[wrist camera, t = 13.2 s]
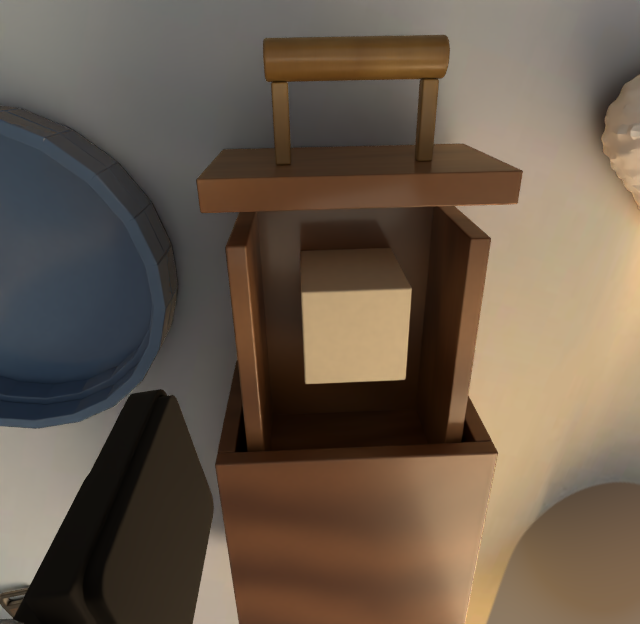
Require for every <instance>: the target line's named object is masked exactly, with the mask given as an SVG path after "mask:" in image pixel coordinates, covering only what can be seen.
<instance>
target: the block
mask: <svg viewBox="0 0 640 624" xmlns="http://www.w3.org/2000/svg"><path fill="white" fill-rule="evenodd" d="M300 271H301V306H302V330H303V353H304V377H305V384H319V383H343V382H366V381H390V380H405V378H406V365H407V351H408V336H409V322H410V307H411V293H412V288H411V286H410V284H409V283H408V281H407V279H406V277H405V275H404V273H403V271H402V269H401V267H400V265H399V263H398V261H397V259H396V258H395V256H394V254H393V252H392V250H391V248H371V249H343V250H314V251H301V252H300Z"/></svg>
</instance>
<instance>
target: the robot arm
mask: <svg viewBox="0 0 640 624" xmlns="http://www.w3.org/2000/svg"><path fill="white" fill-rule="evenodd" d="M213 507H214V506H213V498H212V494H211V491H210V488H209V485H208V483H207V480H206V477H205V475H204V472H203V469H202V466H201V464H200V461H199V458H198V455H197V453H196V450H195V447H194V445H193V442H192V439H191V436H190V434H189V431H188V428H187V425H186V423H185V420H184V417H183V414H182V412H181V409H180V406H179V404H178V401H177V399H176V397H175V396H173V395H170V396H167V394H166V393H165V392H164V390H161V389H159V390H153V391H147V392H140V393H134V394H131V395H130V396H129V398H128V399H127V401H126V403H125V405H124V407H123V409H122V411H121V413H120V415H119V417H118V419H117V421H116V423H115V425H114V427H113V428H112V430H111V432H110V434H109V436H108V438H107V440H106V442H105V444H104V446H103V448H102V450H101V452H100V454H99V456H98V458H97V460H96V462H95V464H94V466H93V468H92V470H91V471H90V473H89V474H88V476H87V477H86V479H85V480H84V482H83V484H82V486H81V488H80V490H79V492H78V493H77V495H76V497H75V499H74V501H73V503H72V505H71V507H70V509H69V511H68V513H67V515H66V517H65V519H64V521H63V523H62V524H61V526H60V528H59V530H58V532H57V534H56V536H55V538H54V540H53V542H52V544H51V546H50V548H49V550H48V552H47V554H46V556H45V557H44V559H43V561H42V563H41V565H40V567H39V569H38V571H37V573H36V575H35V577H34V579H33V581H32V583H31V585H30V587H29V588H28V590H27V592H26V594H25V596H24V598H23V600H22V602H21V604H20V606H19V608H18V610H17V612H16V614H15V616H14V618H13V619H0V624H193V618H194V613H195V608H196V602H197V597H198V592H199V587H200V581H201V576H202V571H203V565H204V560H205V555H206V549H207V544H208V539H209V534H210V528H211V523H212V518H213Z"/></svg>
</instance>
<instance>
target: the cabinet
mask: <svg viewBox="0 0 640 624" xmlns="http://www.w3.org/2000/svg"><path fill="white" fill-rule="evenodd" d="M497 455H498V452H497V450H496V448H495V446H494V444H493V442H492V440H491V438H490V436H489V434H488V432H487V430H486V428H485V427H484V425H483V423H482V421H481V419H480V417H479V415H478V413H477V411H476V409H475V407H474V406H473V404H472V402H471V400H470V398H469V396H468V400H467V406H466V413H465V420H464V427H463V434H462V441H461V443H441V444H418V445H395V446H372V447H349V448H326V449H302V450H279V451H256V452H248V451H247V442H246V433H245V423H244V414H243V405H242V396H241V387H240V378H239V369H238V360H237V361H236V365H235V370H234V374H233V379H232V384H231V389H230V394H229V399H228V404H227V409H226V413H225V418H224V423H223V428H222V433H221V438H220V443H219V448H218V455H217V459H216V463H215V468H216V474H217V481H218V487H219V494H220V501H221V507H222V514H223V521H224V527H225V534H226V540H227V547H228V554H229V560H230V567H231V573H232V580H233V587H234V593H235V600H236V607H237V613H238V620H239V624H465V622H466V616H467V611H468V606H469V601H470V596H471V590H472V585H473V580H474V575H475V570H476V564H477V559H478V554H479V549H480V543H481V538H482V533H483V528H484V523H485V517H486V512H487V507H488V502H489V497H490V491H491V486H492V481H493V476H494V471H495V465H496V460H497Z"/></svg>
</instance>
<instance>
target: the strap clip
mask: <svg viewBox="0 0 640 624" xmlns="http://www.w3.org/2000/svg"><path fill="white" fill-rule="evenodd" d="M27 590H28V588H24V589H20V590H15V591H10V592H5V593H1V594H0V604H1V606H2V607H3V608H4V609H5V610H6V611H7V612H8V613H9V614H10V615H11V616H12V617H13V618H14V616H15V614H16V612H17V610H18V608H19V606H20V604H21V602H22V600H23V599H22V600H17V601H12V602H11V601H10V600H9V599H8V598H9V597H14V596H19V595H24V594H26V592H27Z"/></svg>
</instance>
